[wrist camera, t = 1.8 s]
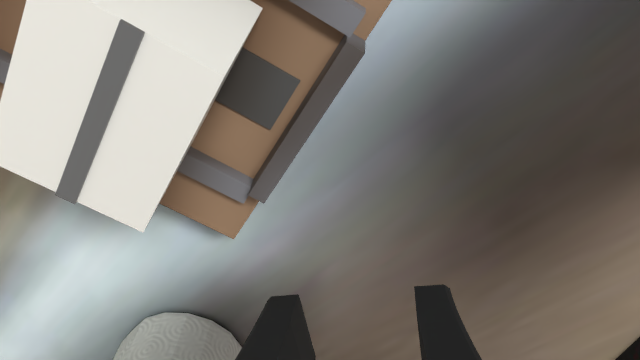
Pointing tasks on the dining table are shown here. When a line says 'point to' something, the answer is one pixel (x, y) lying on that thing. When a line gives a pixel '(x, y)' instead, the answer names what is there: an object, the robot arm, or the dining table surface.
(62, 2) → the fader knob
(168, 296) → the dining table surface
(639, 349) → the remote control
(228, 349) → the paper towel roll
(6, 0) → the console
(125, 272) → the dining table surface
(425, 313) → the robot arm
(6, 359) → the dining table surface
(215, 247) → the dining table surface
